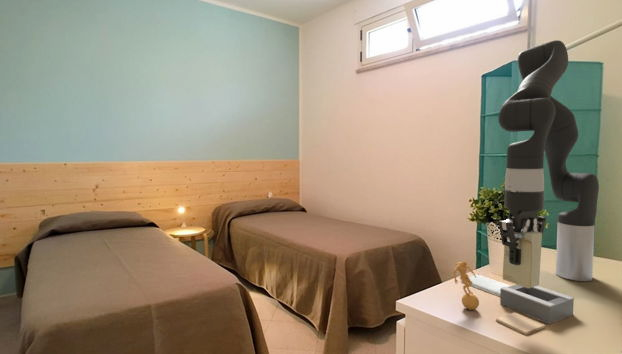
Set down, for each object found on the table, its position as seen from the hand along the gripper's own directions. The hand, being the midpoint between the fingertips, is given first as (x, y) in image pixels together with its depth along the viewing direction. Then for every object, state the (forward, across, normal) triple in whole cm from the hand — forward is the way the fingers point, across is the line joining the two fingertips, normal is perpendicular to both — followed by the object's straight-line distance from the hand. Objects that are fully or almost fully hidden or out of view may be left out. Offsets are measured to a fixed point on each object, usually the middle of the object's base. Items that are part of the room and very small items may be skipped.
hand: (521, 262), depth 77 cm
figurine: (+15, +4, -11) cm, 19 cm away
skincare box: (+5, 0, 0) cm, 5 cm away
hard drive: (+15, -14, -18) cm, 28 cm away
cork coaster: (+15, 0, 0) cm, 15 cm away
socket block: (+15, -11, -3) cm, 19 cm away
